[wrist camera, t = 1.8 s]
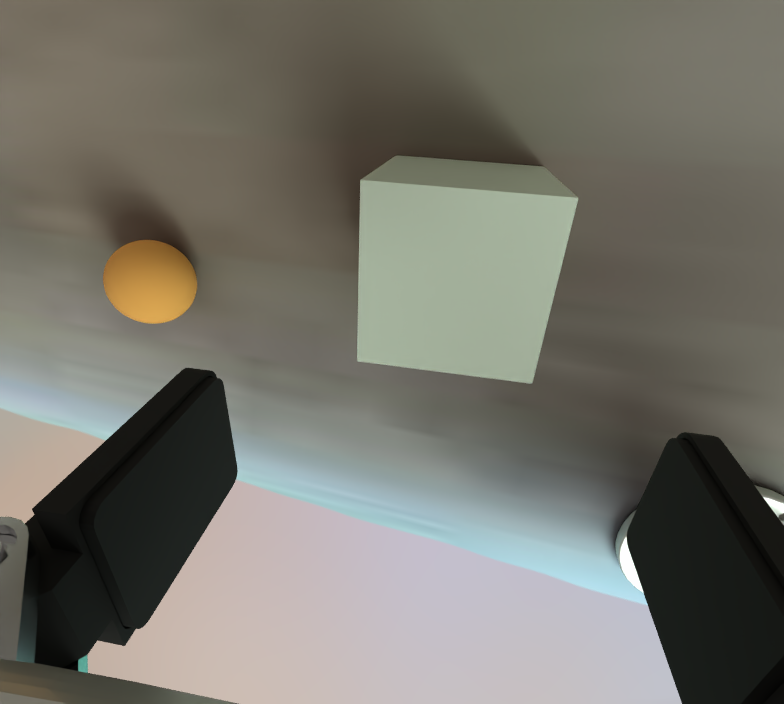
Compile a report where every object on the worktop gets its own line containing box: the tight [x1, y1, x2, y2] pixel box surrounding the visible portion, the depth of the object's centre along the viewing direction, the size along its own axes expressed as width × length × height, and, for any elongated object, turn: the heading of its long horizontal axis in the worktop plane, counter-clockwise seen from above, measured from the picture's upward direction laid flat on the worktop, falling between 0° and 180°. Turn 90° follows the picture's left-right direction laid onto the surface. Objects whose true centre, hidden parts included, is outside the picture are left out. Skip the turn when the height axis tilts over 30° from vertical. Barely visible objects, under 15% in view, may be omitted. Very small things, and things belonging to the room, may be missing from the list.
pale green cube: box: [357, 155, 578, 384], centre depth 22 cm, size 8×8×9 cm
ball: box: [103, 240, 197, 324], centre depth 27 cm, size 5×5×5 cm
